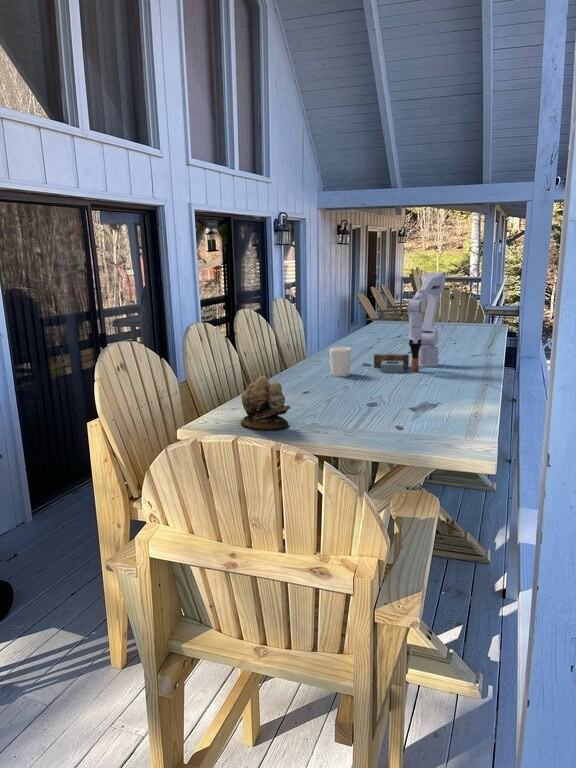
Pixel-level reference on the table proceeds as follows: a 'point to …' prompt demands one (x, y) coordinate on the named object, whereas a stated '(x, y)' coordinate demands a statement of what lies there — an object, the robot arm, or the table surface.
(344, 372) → the candle holder
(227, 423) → the table surface
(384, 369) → the socket block
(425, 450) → the table surface
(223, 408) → the table surface
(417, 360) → the dowel
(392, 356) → the walnut wall
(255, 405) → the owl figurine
